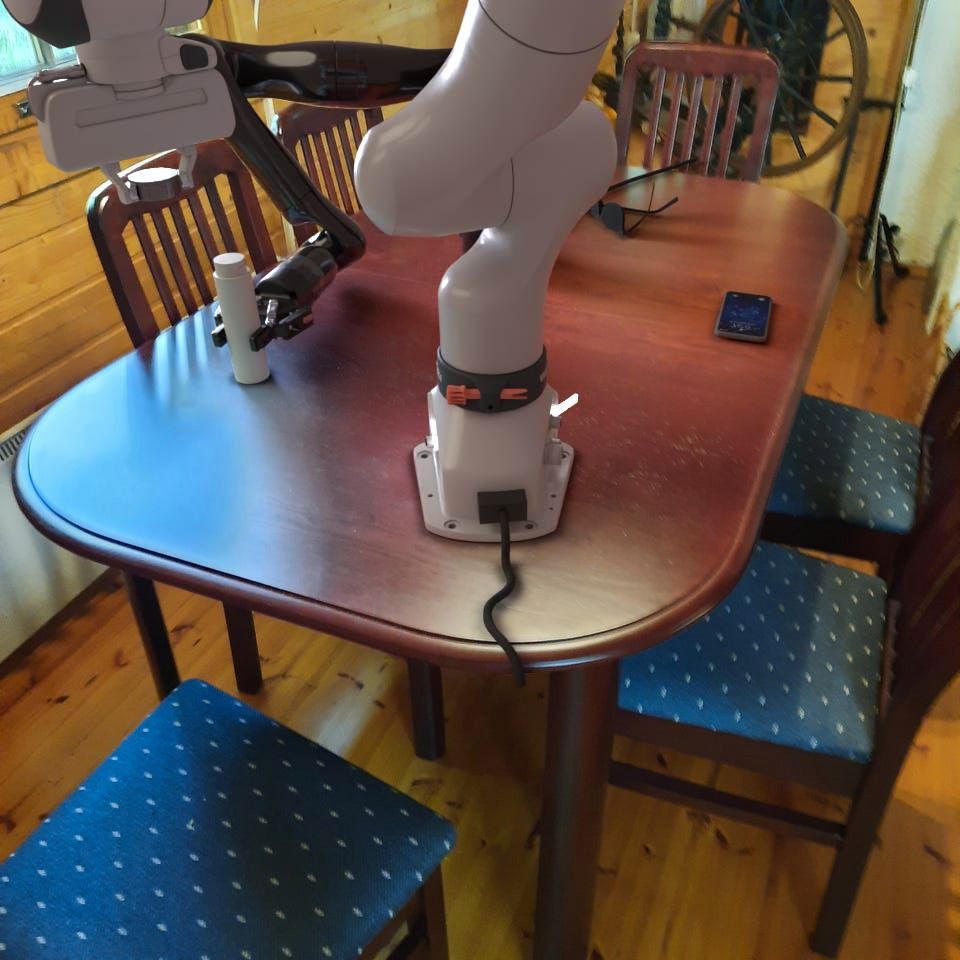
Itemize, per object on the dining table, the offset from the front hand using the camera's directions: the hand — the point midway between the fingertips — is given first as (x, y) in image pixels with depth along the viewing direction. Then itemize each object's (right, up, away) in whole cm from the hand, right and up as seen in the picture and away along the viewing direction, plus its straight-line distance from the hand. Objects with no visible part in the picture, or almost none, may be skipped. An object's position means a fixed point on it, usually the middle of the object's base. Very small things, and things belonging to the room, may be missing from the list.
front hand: (158, 194), depth 94 cm
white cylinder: (+4, -17, +23) cm, 29 cm away
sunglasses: (+65, +18, +69) cm, 96 cm away
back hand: (+3, -14, +17) cm, 22 cm away
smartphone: (+75, -7, +34) cm, 83 cm away
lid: (0, +2, -1) cm, 2 cm away
